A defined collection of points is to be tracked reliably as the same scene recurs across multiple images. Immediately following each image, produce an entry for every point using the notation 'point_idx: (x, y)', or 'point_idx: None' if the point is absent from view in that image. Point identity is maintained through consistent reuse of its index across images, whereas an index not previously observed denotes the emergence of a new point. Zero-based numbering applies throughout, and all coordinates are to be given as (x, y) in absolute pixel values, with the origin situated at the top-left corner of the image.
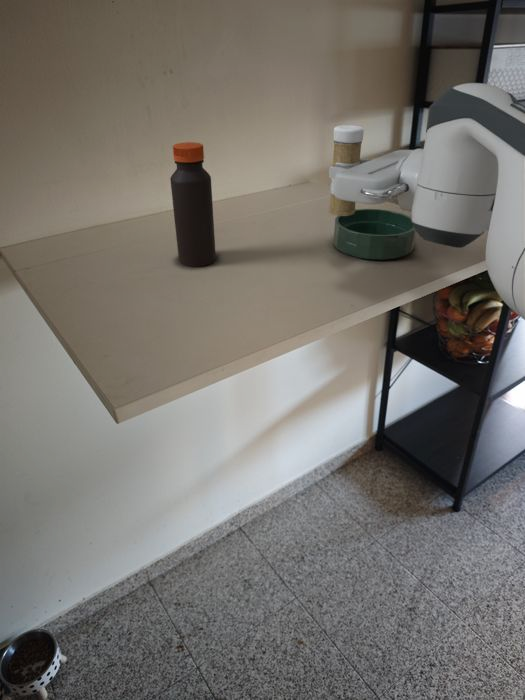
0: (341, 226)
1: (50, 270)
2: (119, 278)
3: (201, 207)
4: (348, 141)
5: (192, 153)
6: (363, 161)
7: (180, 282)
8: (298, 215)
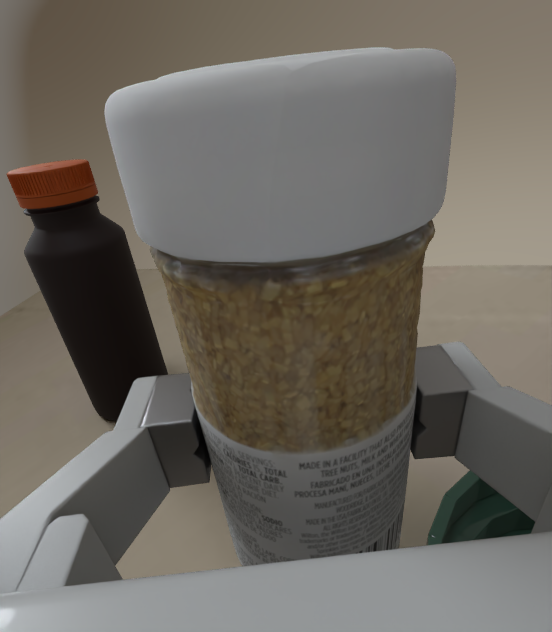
0: (437, 542)
1: (21, 322)
2: (14, 378)
3: (65, 313)
4: (142, 233)
5: (19, 187)
6: (490, 414)
7: (20, 443)
8: (479, 354)
